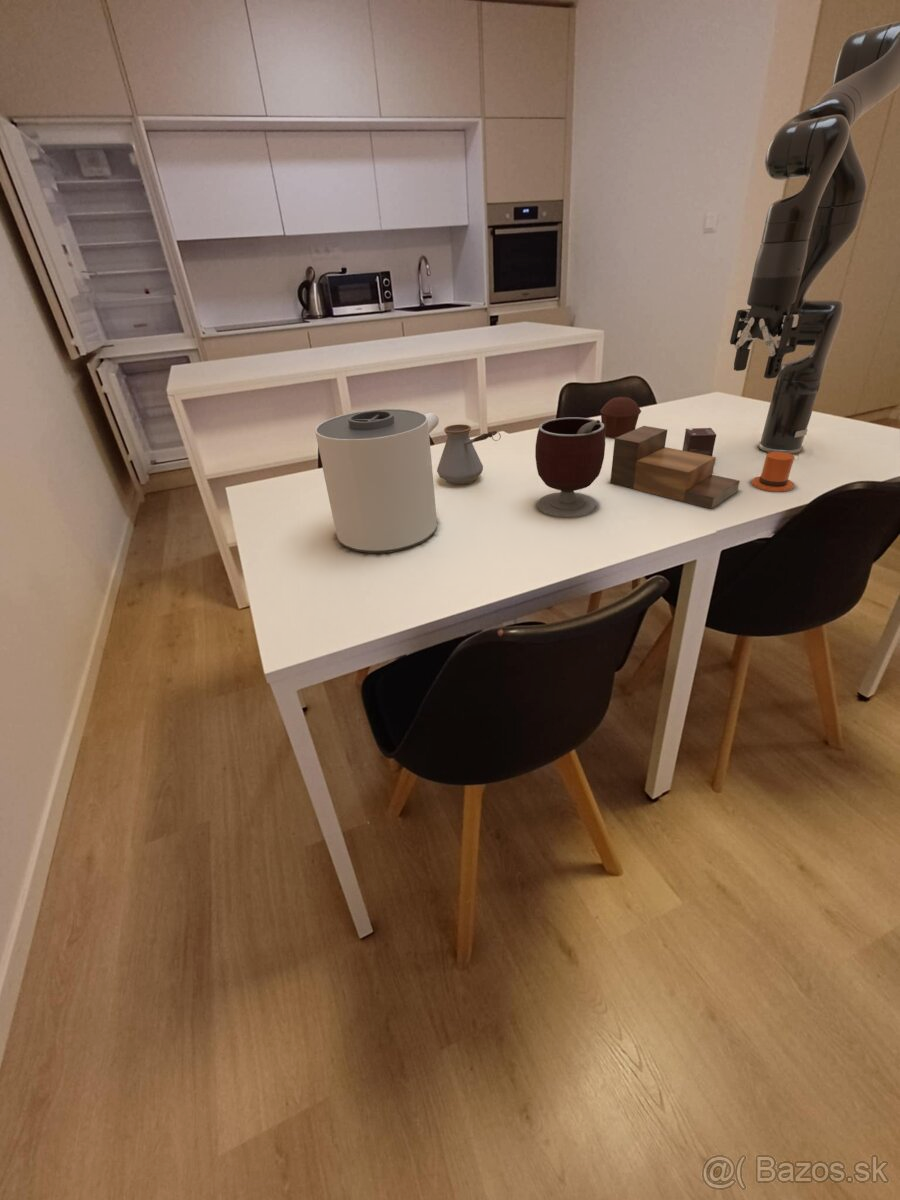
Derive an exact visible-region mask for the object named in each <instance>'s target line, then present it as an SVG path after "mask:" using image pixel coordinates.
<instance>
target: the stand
mask: <svg viewBox="0 0 900 1200" xmlns="http://www.w3.org/2000/svg"><path fill="white" fill-rule="evenodd" d="M667 435H668V429H666V428H659V427H654V426H649V425H642V426H639V427H637V428H635V430H633V431H630V432H628V433H626V434H623V435H621V436H619V437H616V438H614V441H613V450H612V451H613V452H612V462H611V471H610V479H609V480H610V482H609V483H610V484H613V485H616V486H617V485H618V486H621V487H624V488H629V489H633V490H637V491H640V492H644V493H648V494H652V495H655V496H660V497H663V498H667V499H672V500H675V501H678V502H683V503H687V504H690V505H694V506H698V507H702V508H706V509H709V510H712V509H714V508H715V507H717V506H718V505H720V504H721V503H723V502H724V501H725V500H727V499H728V498H730V497H732V496H733V495H735V494H736V493H737V492H738V491H739V487H740V482H741V480H739V479H734V478H729V477H725V476H720V475H716V474H713V473H714V470H715V469H714V468H715V464H716V459H717V457H716V456H713V455H712V456H708V455H703V454H698V453H693V452H687V451H682V450H683V449H677V448H671V447H666V443H667V442H666V441H667Z"/></svg>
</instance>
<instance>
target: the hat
mask: <svg viewBox="0 0 900 1200" xmlns="http://www.w3.org/2000/svg"><path fill="white" fill-rule="evenodd" d="M794 459H795V455H794V454H790V453H786V452H766V455H765V459H764V462H763V466H762V469H761V473H760V475H759V476H756V477H753V478H752V481H751V485H752V486H753V487H755V488H756V489H759V490H763V491H766V492H778V493H780V492H788V491H791V490H792V489H794V486H795V483H794V482H793V481H792V480H790V479H789V477H790V473H791V471H792V467H793V463H794V461H795V460H794Z"/></svg>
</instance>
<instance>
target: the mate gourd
mask: <svg viewBox="0 0 900 1200" xmlns="http://www.w3.org/2000/svg"><path fill="white" fill-rule="evenodd" d="M535 439H536V440H535V451H534V453H535V455H534V456H535V466H536V470H537V474H538V476H539V478H540V479H541V480H542V482H543V483H544V484H545V486H546V487H548V488H551V489H554V490H557V491H560V492H552V493H549V494H546V495H544V496H542V497H541V498H540V499H539V500H538V502H537V506H538V507H537V508H538V509H539V511H541V512H542V513H543V514H545V515H548V516H552V517H555V518H556V517H557V518H579V517H583V516H587V515H589V514H591V513H592V512H594V511H595V510H596V506H597V502H596V500H595V499H594V498H593V497H591V496H590V495H587V494H584V493H580V492H575V491H578V490H583V489H585V488H588V487H590V486H591V485H592V484H593V482H594V481H596V479H597V478H598V477H599V475H600V473H601V470H602V468H603V464H604V460H605V452H606V451H605V450H606V436H605V432H604V424H603V423H602V422H601V420H600V419H594V418H588V417H578V416H577V417H576V416H575V417H574V416H573V417H572V416H570V417H569V416H568V417H559V418H553V419H548V420H546V421H542V422H541V423H540V424H539V425H538V429H537V434H536V438H535Z"/></svg>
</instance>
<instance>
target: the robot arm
mask: <svg viewBox="0 0 900 1200" xmlns="http://www.w3.org/2000/svg"><path fill="white" fill-rule="evenodd" d="M899 87H900V20H897V21H894V22H890V23H886V24H882V25H878V26H874V27H870V28H867V29H863V30H859V31H855V32H854V33H851V34H849V35H848V36H847V38H845V40H844V42H843V44H842V46H841V47H840V50H839V52H838V55H837V58H836V63H835V66H834V70H833V75H832V80H831V87H829V88H828V89H827V90H826V91H825V92H824V93H823V94H822V95H821V96H820V97H819V99H817V101H815V103H814V104H813V105H812V106H811V107H809V108H807V109H805V110H803V111H801V112H800V113H798V114H797V115H795V116H793V117H792V118H790V119H789V120H787V121H786V122H785V123H784V124H783V125H782V126H780V128H779V129H778V130H777V131H776V132H775V134H774V135H773V137H772V139H771V140H770V142H769V144H768V148H767V150H766V154H765V160H764V161H765V162H764V165H765V170H766V173H767V174H768V176H769V177H770V178H771V179H773V180H774V181H775V180H776V181H786V180H793V179H801V178H808V179H807V181H806V182H805V184H804V185H803V186H802V188H801V189H800V190H798V192H796V193H794V194H791V195H788V196H786V197H783V198H780V199H778V200H776V201H773V202H772V203H771V204H770V205H769V207H768V210H767V212H766V213H767V214H766V218H765V223H764V228H763V232H762V236H761V241H760V244H759V245H760V247H759V249H758V252H757V255H756V258H755V263H754V267H753V271H752V277H751V282H750V287H749V291H748V295H747V300H746V304H747V305H748V306H749V307H750V308H742V309H738V310H736V314H735V318H734V323H733V325H732V327H733V328H732V331H731V335H730V339H729V344H730V345H733V346H734V347H735V350H736V352H735V357H734V362H733V370H734V371H736V372H740V371H745V370H746V369H747V365H748V362H749V357H750V353H751V348H750V347H752V345H753V344H754V342H755V341H756V340H758V339H759V340H762V341H763V342H764V344H765V345H766V346H767V348H768V352H769V356H768V358H767V362H766V365H765V366H766V367H765V370H764V374H763V377H764V379H768V380H769V379H775V378H776V379H775V383H774V387H773V391H772V396H771V399H770V403H769V407H768V410H767V415H766V419H765V423H764V426H763V431H762V435H761V438H760V442H759V444H758V448H759V449H760V450H761V451H763V452H765V453H770V452H786V453H790V454H792V455H794V454H798V453H800V452H801V451H802V448H803V443H804V440H805V436H807V433H808V431H809V430H808V426H809V424H810V420H811V416H812V413H813V410H814V406H815V403H816V400H817V396H818V394H819V390H820V386H821V384H822V379H823V376H824V373H825V370H826V366H827V363H828V359H829V357H830V353H831V350H832V347H833V344H834V341H835V338H836V337H837V333H838V331H839V328H840V325H841V321H842V318H843V315H844V310H845V309H844V307H845V306H844V302H843V301H842V300H840V299H808V295H809V294H810V293H809V292H810V290H811V288H812V286H813V284H814V283H815V281H816V280H817V278H818V277H819V276H820V274H821V273H822V272H823V270H824V269H825V267H826V266H827V265H828V264H829V263H830V261H831V260H833V259H834V257H835V256H836V255H837V254H838V253H839V252H840V251H841V249H842V248H843V247H844V246H845V244H846V243H847V242H848V241H849V239H850V238H851V237H852V236H853V234H854V233H855V231H856V230H857V227H858V225H859V222H860V219H861V215H862V211H863V206H864V203H865V200H866V195H867V192H868V181H867V176H866V173H865V170H864V167H863V164H862V161H861V159H860V157H859V154H858V152H857V149H856V145H855V144H854V139H853V135H852V128H853V126H855V124H856V123H857V122H858V120H859V119H860V118H861V117H863V115H865V114H866V113H867V112H869V111H870V110H871V109H872V108H874V107H875V106H876V105H878V104H879V103H881V102H882V101H883V100H884V99H886V98H887V97H889V96H890V95H891V94H893V93H894V92H895V91H896V90H898V89H899ZM739 333H740V335H739ZM738 335H739V336H738ZM797 346H799V347H813V350H812V351H811V352H810V353H808V354H807V355H804V356H802V357H800V358H796V359H793V360H788V361H785V362H783V359H784V357H785V356H786V355H788V354H790V353H794V352H795V351H796V349H797Z"/></svg>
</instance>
